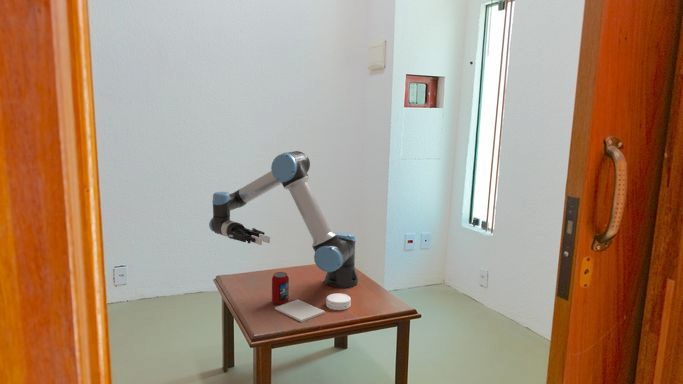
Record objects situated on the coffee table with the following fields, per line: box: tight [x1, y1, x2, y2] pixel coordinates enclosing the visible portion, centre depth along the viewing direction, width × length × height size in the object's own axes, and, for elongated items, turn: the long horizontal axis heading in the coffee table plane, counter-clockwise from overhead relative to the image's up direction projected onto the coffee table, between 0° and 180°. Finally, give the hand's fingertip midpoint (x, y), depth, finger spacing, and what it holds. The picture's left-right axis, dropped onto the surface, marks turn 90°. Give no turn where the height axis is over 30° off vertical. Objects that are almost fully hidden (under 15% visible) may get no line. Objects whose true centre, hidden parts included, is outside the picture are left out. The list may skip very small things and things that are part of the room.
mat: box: [274, 299, 326, 323], centre depth 190 cm, size 16×12×1 cm
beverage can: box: [271, 271, 290, 306], centre depth 197 cm, size 7×7×12 cm
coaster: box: [325, 293, 352, 311], centre depth 196 cm, size 10×10×4 cm
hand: (264, 240), depth 201 cm, fingers open, 3 cm apart
